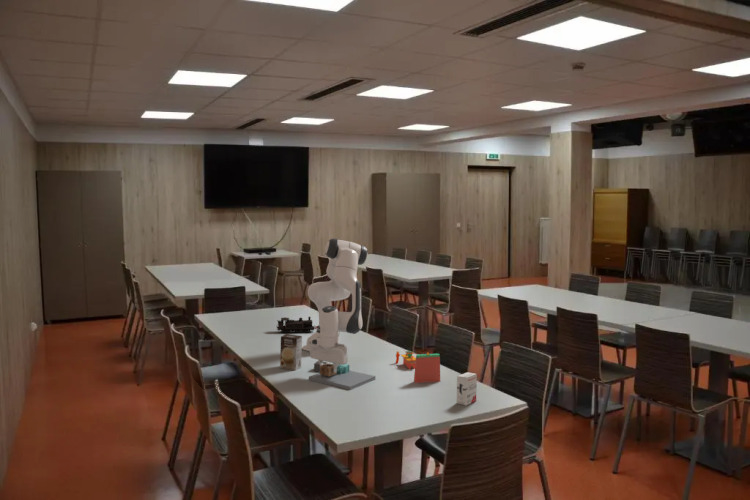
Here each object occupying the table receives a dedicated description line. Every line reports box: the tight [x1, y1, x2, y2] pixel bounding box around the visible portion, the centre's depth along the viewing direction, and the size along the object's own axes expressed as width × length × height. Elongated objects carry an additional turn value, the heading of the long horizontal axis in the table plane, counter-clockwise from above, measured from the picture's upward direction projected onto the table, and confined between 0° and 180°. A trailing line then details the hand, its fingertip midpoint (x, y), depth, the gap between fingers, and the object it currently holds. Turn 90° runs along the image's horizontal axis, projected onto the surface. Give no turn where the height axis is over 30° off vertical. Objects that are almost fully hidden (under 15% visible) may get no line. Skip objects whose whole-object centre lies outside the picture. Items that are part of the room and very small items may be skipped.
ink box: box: [456, 372, 478, 406], centre depth 247 cm, size 8×5×12 cm, turn 140°
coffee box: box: [279, 333, 303, 371], centre depth 292 cm, size 9×6×16 cm
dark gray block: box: [313, 360, 328, 372], centre depth 290 cm, size 5×5×4 cm
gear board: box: [308, 362, 376, 391], centre depth 275 cm, size 24×20×6 cm
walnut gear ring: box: [319, 362, 337, 376], centre depth 275 cm, size 6×7×4 cm
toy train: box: [276, 316, 316, 334], centre depth 372 cm, size 8×25×10 cm, turn 99°
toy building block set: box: [395, 350, 441, 384], centre depth 290 cm, size 12×35×14 cm, turn 16°
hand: (328, 370), depth 275 cm, fingers closed on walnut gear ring, 6 cm apart
